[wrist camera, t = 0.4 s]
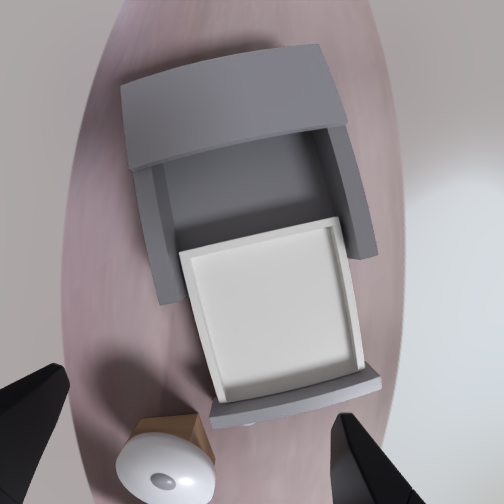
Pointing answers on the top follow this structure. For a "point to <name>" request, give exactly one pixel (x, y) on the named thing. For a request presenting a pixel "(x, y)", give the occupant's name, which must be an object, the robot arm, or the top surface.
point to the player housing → (240, 155)
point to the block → (177, 430)
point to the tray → (278, 323)
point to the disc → (166, 470)
